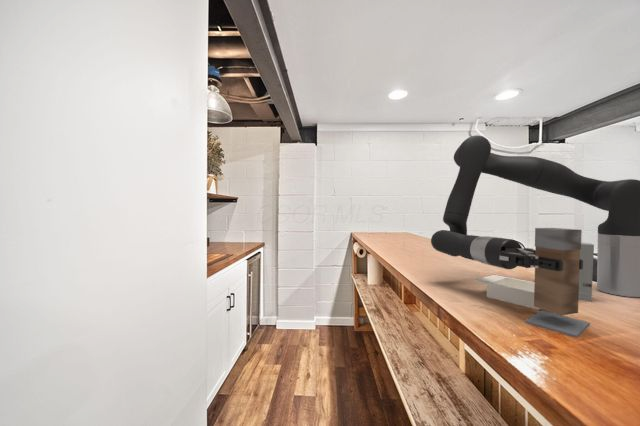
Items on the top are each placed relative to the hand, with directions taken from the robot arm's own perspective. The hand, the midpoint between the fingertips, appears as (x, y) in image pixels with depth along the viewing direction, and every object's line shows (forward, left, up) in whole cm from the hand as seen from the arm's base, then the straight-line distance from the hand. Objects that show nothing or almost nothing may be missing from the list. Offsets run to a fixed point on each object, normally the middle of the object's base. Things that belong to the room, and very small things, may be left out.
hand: (571, 265), depth 52 cm
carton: (-13, -13, -13) cm, 23 cm away
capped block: (-1, -3, -10) cm, 10 cm away
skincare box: (-28, -6, -14) cm, 32 cm away
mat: (-1, -2, -13) cm, 14 cm away
